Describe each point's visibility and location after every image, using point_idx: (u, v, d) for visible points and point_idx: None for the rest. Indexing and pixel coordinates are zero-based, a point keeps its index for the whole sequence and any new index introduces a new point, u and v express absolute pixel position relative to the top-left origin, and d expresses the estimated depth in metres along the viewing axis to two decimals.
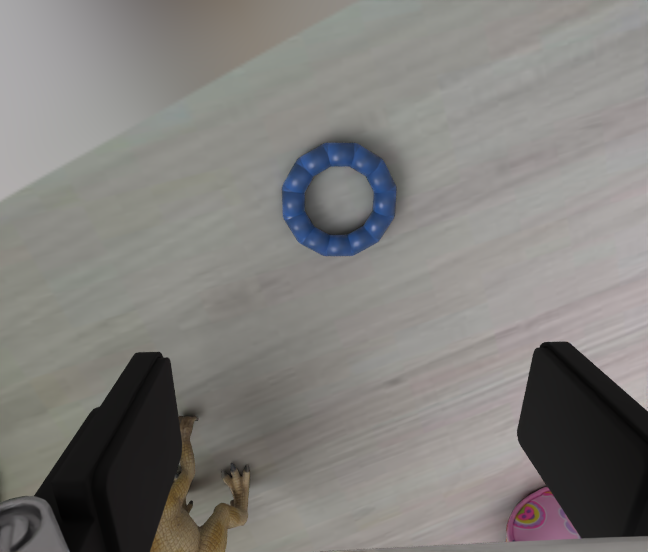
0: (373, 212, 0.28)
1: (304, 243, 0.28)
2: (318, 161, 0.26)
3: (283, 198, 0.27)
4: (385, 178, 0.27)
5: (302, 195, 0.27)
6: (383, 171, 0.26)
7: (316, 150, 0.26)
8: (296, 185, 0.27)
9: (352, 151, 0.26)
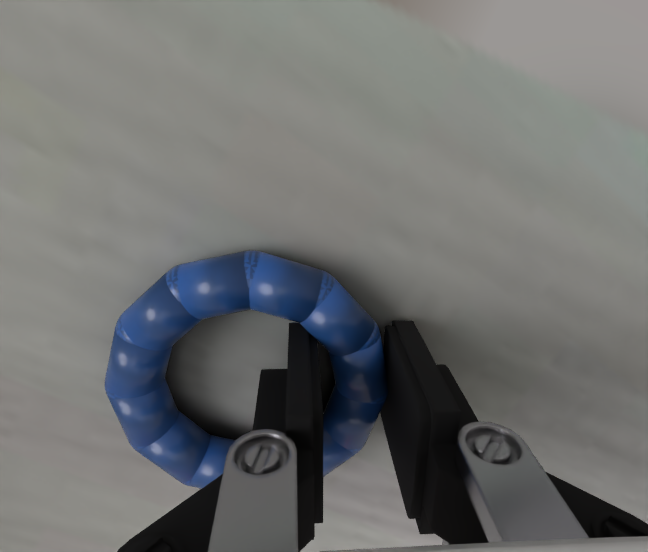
0: None
1: (111, 401, 0.11)
2: (287, 301, 0.10)
3: (152, 292, 0.10)
4: (364, 426, 0.12)
5: (195, 322, 0.10)
6: (373, 414, 0.11)
7: (303, 276, 0.10)
8: (200, 298, 0.10)
9: (362, 341, 0.11)
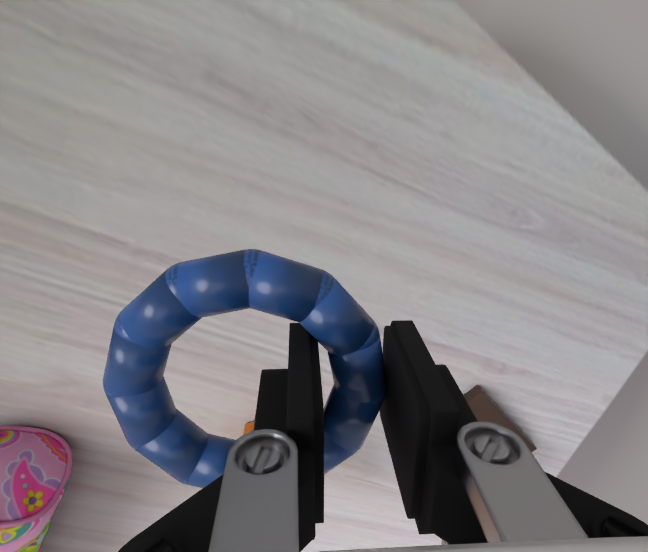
0: None
1: (109, 399, 0.11)
2: (286, 300, 0.10)
3: (151, 290, 0.10)
4: (362, 426, 0.12)
5: (194, 320, 0.10)
6: (371, 414, 0.11)
7: (302, 275, 0.10)
8: (200, 296, 0.10)
9: (361, 340, 0.11)
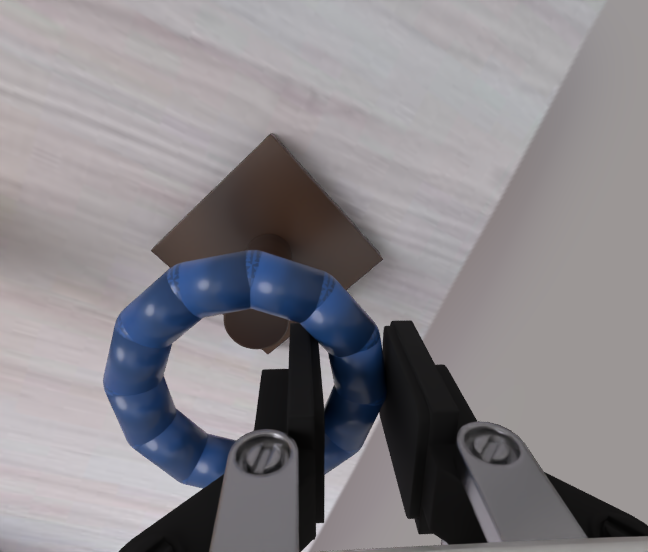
0: None
1: (109, 398, 0.11)
2: (287, 301, 0.10)
3: (152, 290, 0.10)
4: (362, 428, 0.12)
5: (195, 321, 0.10)
6: (371, 415, 0.11)
7: (304, 276, 0.10)
8: (201, 296, 0.10)
9: (362, 342, 0.11)
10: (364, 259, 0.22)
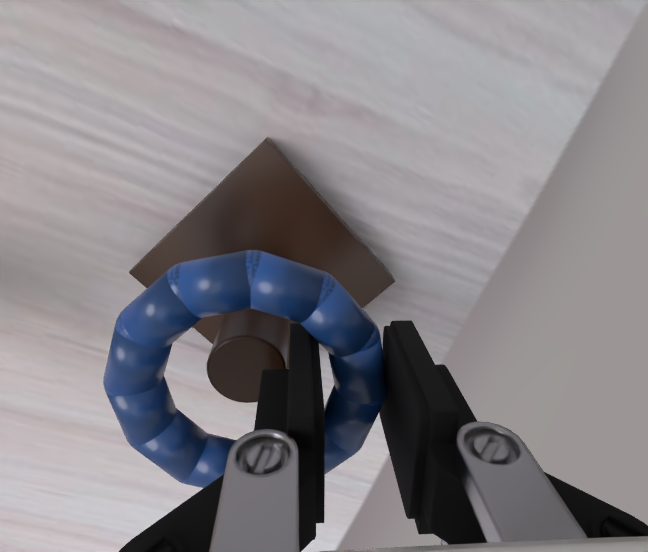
0: None
1: (110, 398, 0.11)
2: (288, 301, 0.10)
3: (152, 289, 0.10)
4: (362, 428, 0.12)
5: (195, 320, 0.10)
6: (371, 415, 0.11)
7: (304, 276, 0.10)
8: (202, 296, 0.10)
9: (362, 342, 0.11)
10: (374, 281, 0.19)
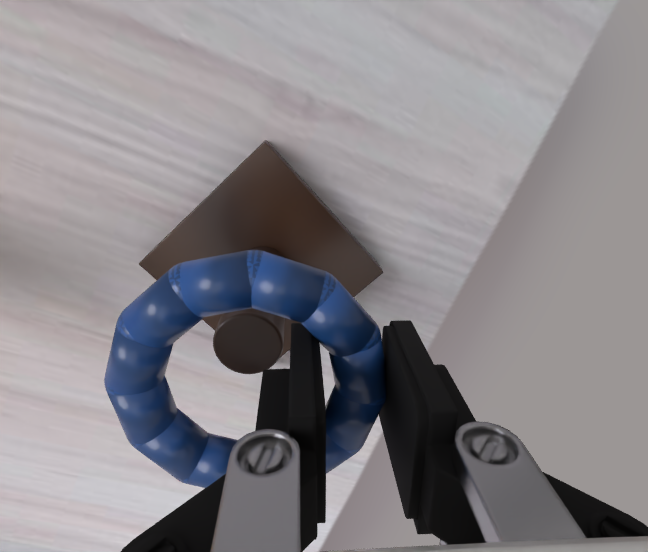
0: None
1: (111, 397, 0.11)
2: (289, 300, 0.10)
3: (154, 289, 0.10)
4: (363, 428, 0.12)
5: (196, 320, 0.10)
6: (372, 415, 0.11)
7: (305, 276, 0.10)
8: (202, 296, 0.10)
9: (363, 342, 0.11)
10: (363, 272, 0.21)
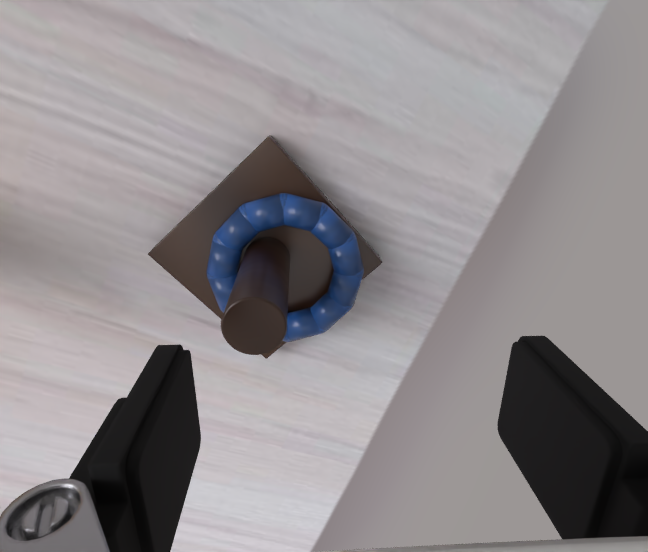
0: None
1: (215, 245, 0.19)
2: (332, 234, 0.19)
3: (268, 199, 0.19)
4: (333, 318, 0.21)
5: (281, 224, 0.19)
6: (340, 313, 0.21)
7: (344, 226, 0.20)
8: (292, 213, 0.19)
9: (355, 271, 0.20)
10: (363, 262, 0.21)
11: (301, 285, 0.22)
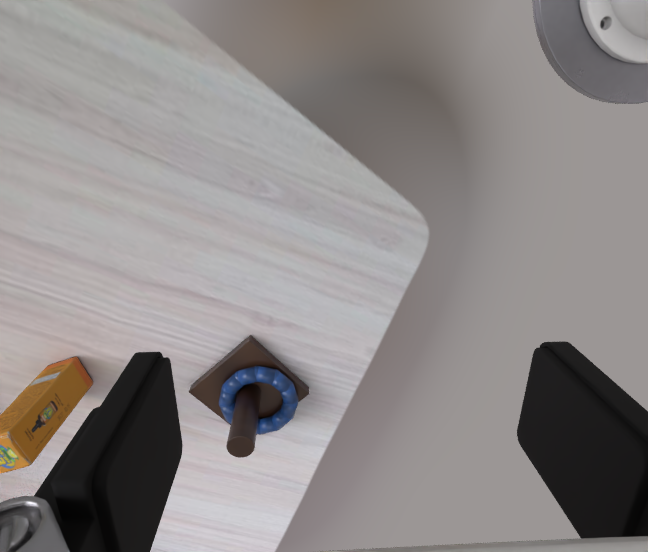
0: (259, 421, 0.41)
1: (223, 392, 0.39)
2: (280, 386, 0.39)
3: (249, 371, 0.39)
4: (283, 424, 0.41)
5: None
6: (286, 421, 0.41)
7: (286, 382, 0.40)
8: (260, 378, 0.39)
9: (293, 402, 0.40)
10: (299, 393, 0.41)
11: (267, 404, 0.42)
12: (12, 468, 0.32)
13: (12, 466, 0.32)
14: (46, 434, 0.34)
